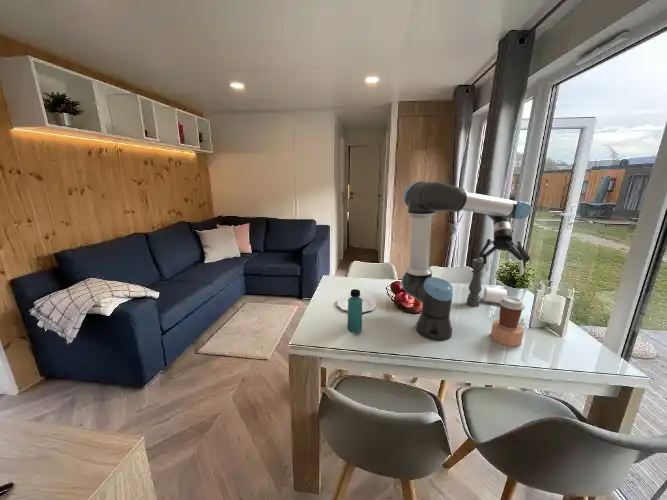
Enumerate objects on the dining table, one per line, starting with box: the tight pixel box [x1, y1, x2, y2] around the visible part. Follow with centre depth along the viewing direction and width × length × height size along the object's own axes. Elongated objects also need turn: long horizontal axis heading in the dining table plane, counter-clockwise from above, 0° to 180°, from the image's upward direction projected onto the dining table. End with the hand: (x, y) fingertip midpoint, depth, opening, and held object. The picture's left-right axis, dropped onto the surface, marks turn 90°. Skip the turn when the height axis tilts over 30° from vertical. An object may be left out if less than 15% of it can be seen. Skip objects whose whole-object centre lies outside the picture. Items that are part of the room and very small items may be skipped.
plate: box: [336, 295, 377, 313], centre depth 150 cm, size 21×21×2 cm
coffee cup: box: [498, 295, 526, 330], centre depth 116 cm, size 9×9×12 cm
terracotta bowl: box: [490, 319, 525, 347], centre depth 118 cm, size 11×11×6 cm
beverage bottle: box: [346, 288, 363, 334], centre depth 121 cm, size 6×7×20 cm
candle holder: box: [466, 258, 485, 308], centre depth 149 cm, size 6×6×25 cm
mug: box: [483, 286, 508, 304], centre depth 156 cm, size 12×10×8 cm
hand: (504, 272), depth 124 cm, fingers open, 13 cm apart
